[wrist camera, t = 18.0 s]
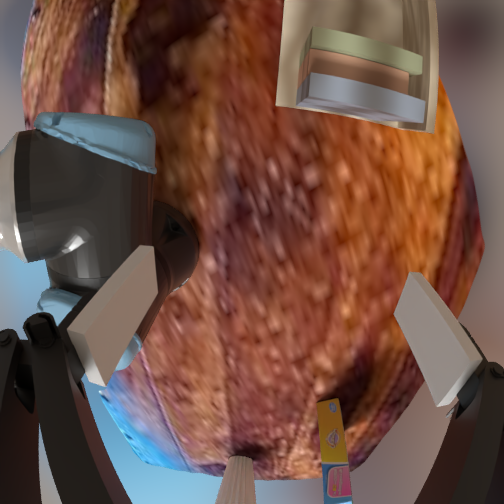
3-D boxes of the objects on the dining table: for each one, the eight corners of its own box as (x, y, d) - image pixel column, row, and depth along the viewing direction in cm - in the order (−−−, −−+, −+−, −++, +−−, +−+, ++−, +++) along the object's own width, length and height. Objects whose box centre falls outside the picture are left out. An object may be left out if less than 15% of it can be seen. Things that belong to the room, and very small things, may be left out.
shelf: (275, 105, 33) (278, 94, 21) (288, -59, 20) (293, -111, 7) (401, 129, 33) (458, 137, 20) (401, -32, 20) (440, -68, 7)
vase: (213, 454, 76) (203, 519, 52) (248, 450, 73) (241, 521, 49) (234, 466, 81) (227, 526, 57) (266, 463, 78) (263, 526, 54)
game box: (315, 401, 58) (323, 505, 34) (338, 396, 57) (352, 500, 33) (325, 436, 67) (331, 517, 42) (343, 432, 66) (353, 513, 41)
